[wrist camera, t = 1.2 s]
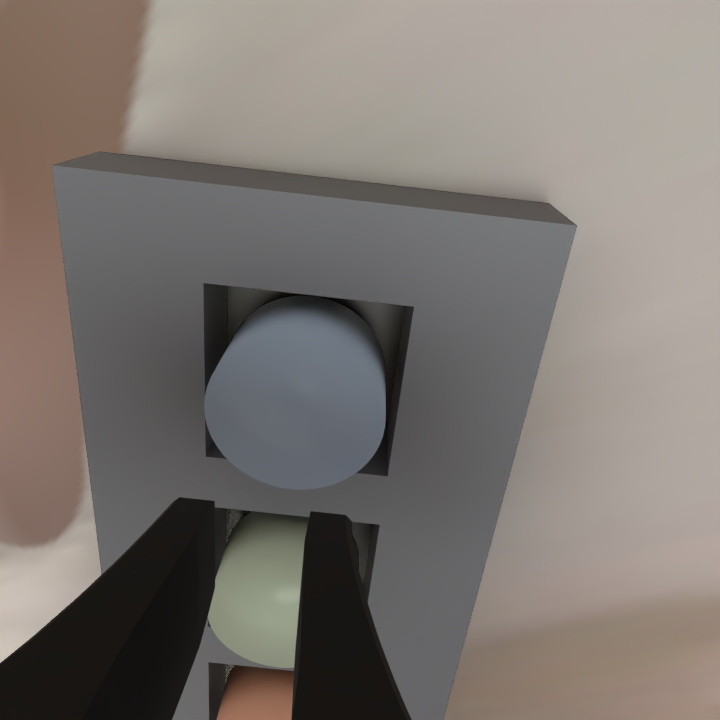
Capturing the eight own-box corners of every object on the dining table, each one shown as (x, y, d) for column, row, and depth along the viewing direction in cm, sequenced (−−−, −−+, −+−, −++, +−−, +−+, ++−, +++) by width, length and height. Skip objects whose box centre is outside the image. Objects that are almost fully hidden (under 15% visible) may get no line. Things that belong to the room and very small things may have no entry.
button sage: (352, 608, 21) (348, 674, 18) (226, 595, 21) (207, 660, 18) (365, 511, 19) (363, 571, 16) (227, 496, 19) (206, 555, 16)
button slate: (375, 443, 17) (374, 498, 15) (228, 427, 17) (205, 480, 15) (395, 305, 16) (397, 344, 13) (228, 287, 15) (203, 323, 13)
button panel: (416, 744, 26) (419, 806, 24) (148, 716, 26) (126, 777, 24) (549, 203, 16) (576, 225, 13) (99, 151, 16) (51, 165, 13)
